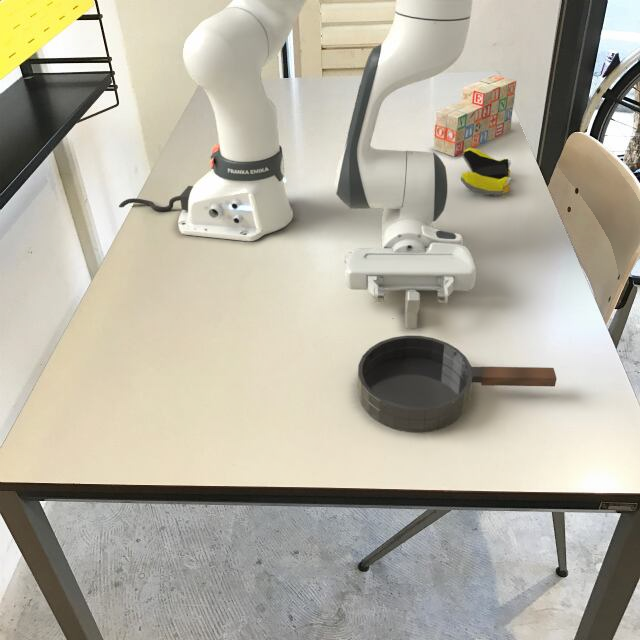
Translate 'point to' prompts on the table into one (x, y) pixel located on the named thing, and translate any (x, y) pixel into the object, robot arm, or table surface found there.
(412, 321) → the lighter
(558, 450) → the table surface
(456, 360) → the pan
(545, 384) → the pan handle
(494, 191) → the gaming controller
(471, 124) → the stack of blocks
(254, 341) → the table surface
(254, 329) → the table surface
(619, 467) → the table surface
